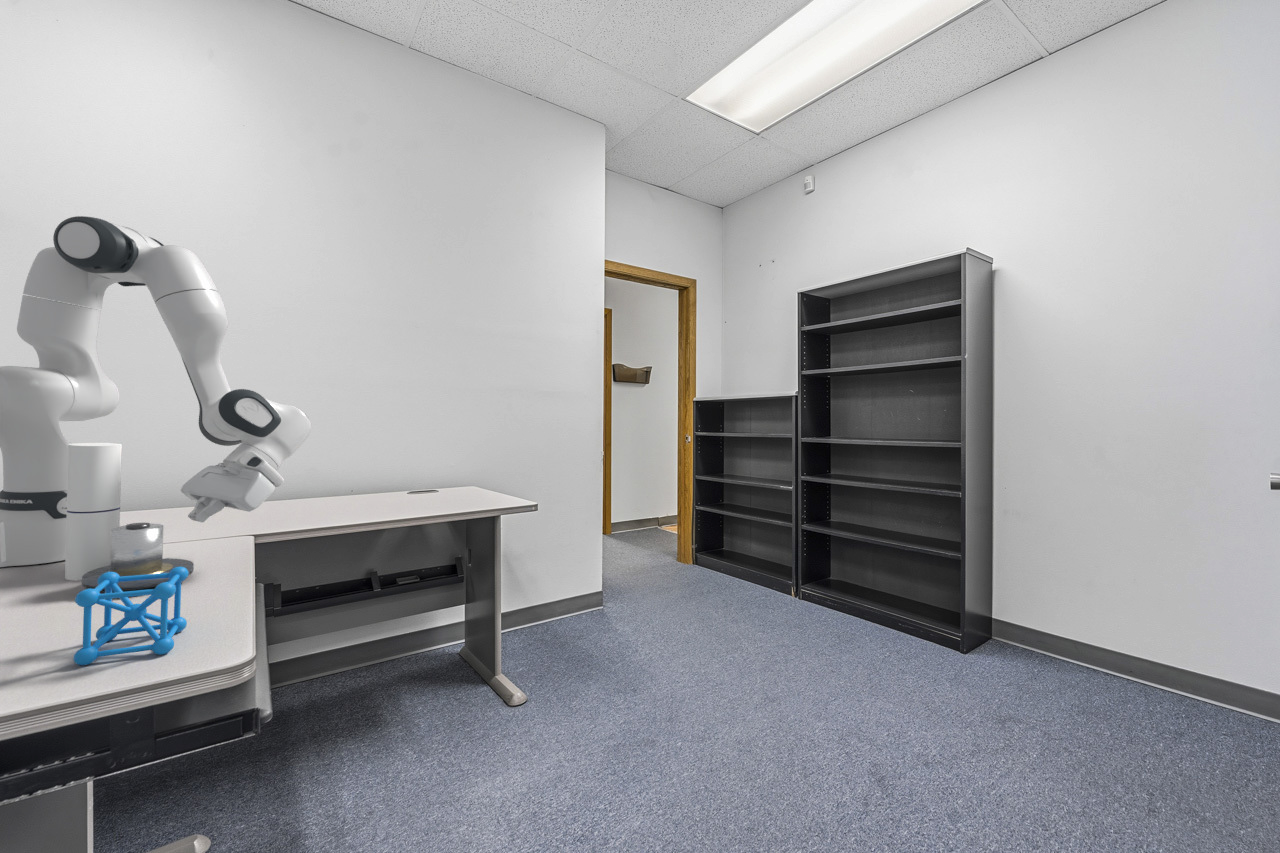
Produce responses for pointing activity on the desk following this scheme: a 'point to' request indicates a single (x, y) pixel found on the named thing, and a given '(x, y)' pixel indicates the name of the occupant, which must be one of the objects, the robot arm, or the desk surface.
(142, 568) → the silver metal canister
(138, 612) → the molecular structure
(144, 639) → the desk surface
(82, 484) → the cylindrical container
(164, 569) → the turntable platter
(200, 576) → the desk surface
